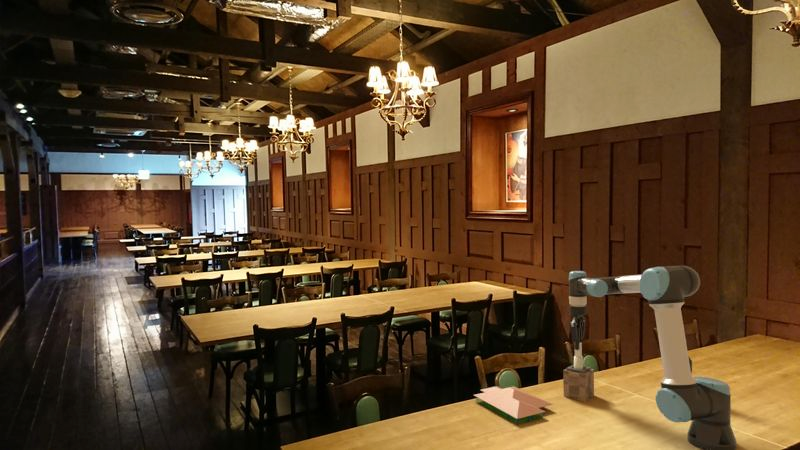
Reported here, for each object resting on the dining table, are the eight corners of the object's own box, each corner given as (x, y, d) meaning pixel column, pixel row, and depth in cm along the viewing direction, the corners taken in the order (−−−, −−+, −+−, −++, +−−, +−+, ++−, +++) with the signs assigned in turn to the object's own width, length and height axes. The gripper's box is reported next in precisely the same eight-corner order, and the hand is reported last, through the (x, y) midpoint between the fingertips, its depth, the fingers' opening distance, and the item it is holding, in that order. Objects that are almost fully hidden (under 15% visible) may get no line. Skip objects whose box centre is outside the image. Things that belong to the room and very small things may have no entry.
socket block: (584, 401, 226) (584, 372, 226) (563, 396, 233) (563, 368, 233) (594, 395, 233) (593, 367, 233) (573, 390, 240) (572, 363, 240)
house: (510, 391, 242) (510, 374, 242) (560, 415, 212) (560, 396, 212) (470, 400, 232) (469, 382, 232) (517, 426, 202) (516, 406, 202)
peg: (581, 385, 230) (580, 358, 230) (572, 383, 233) (572, 357, 233) (584, 382, 233) (584, 356, 233) (576, 380, 236) (576, 355, 236)
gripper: (575, 302, 239) (576, 351, 240) (563, 306, 230) (564, 358, 231) (591, 303, 234) (592, 354, 235) (579, 308, 225) (580, 361, 225)
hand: (578, 356), depth 233 cm, fingers closed
